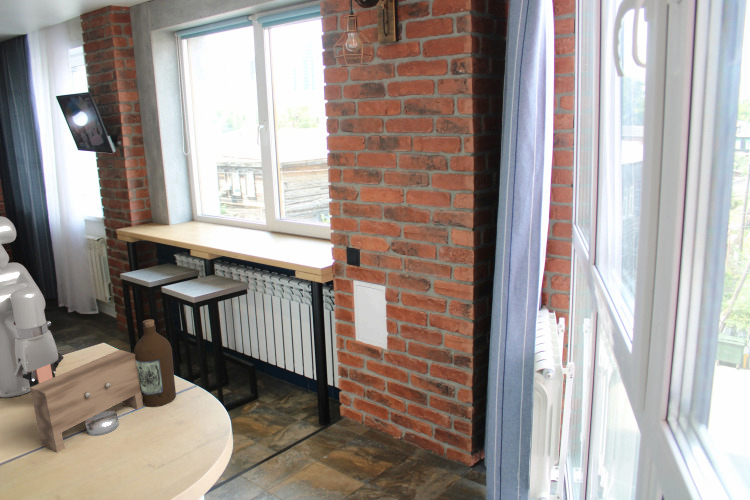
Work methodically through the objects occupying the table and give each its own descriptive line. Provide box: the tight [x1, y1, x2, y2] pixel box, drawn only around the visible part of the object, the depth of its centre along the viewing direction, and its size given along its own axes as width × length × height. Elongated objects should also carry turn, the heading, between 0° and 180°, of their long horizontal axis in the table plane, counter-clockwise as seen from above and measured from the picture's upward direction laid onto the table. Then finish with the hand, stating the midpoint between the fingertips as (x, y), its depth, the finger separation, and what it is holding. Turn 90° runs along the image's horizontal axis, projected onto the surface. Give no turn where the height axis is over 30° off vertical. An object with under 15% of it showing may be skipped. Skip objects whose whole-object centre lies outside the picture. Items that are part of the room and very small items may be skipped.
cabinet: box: [30, 349, 144, 453], centre depth 157 cm, size 8×26×17 cm, turn 149°
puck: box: [84, 410, 120, 437], centre depth 157 cm, size 8×8×3 cm
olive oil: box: [132, 319, 177, 408], centre depth 169 cm, size 11×11×25 cm
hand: (44, 387), depth 170 cm, fingers closed on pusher, 4 cm apart
